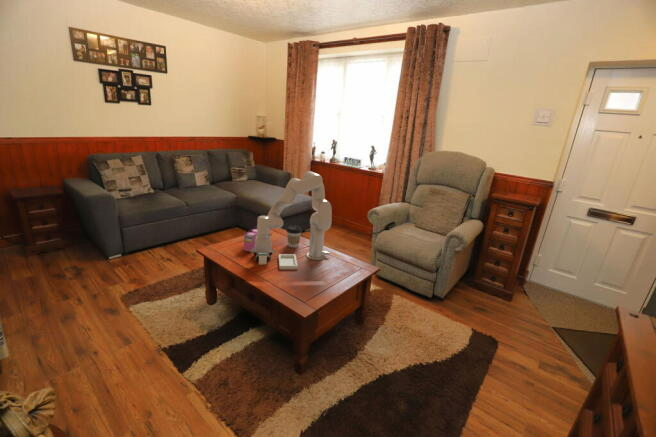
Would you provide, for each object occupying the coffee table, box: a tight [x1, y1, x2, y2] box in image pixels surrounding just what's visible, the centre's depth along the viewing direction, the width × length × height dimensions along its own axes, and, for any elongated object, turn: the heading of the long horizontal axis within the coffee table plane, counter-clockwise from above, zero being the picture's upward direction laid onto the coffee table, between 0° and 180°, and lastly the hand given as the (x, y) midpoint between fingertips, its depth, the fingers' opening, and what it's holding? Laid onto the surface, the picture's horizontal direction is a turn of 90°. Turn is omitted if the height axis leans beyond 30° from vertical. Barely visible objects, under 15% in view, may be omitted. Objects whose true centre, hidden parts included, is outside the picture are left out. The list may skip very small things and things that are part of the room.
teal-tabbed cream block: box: [258, 253, 268, 265], centre depth 206 cm, size 5×13×6 cm, turn 15°
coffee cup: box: [286, 225, 303, 249], centre depth 231 cm, size 11×11×15 cm
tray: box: [278, 253, 299, 271], centre depth 205 cm, size 11×18×2 cm, turn 11°
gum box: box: [243, 226, 257, 252], centre depth 227 cm, size 22×7×13 cm, turn 164°
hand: (262, 261), depth 202 cm, fingers closed on teal-tabbed cream block, 5 cm apart
